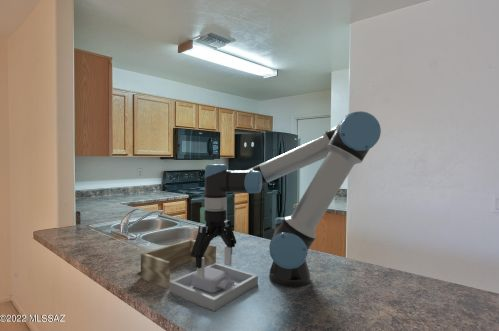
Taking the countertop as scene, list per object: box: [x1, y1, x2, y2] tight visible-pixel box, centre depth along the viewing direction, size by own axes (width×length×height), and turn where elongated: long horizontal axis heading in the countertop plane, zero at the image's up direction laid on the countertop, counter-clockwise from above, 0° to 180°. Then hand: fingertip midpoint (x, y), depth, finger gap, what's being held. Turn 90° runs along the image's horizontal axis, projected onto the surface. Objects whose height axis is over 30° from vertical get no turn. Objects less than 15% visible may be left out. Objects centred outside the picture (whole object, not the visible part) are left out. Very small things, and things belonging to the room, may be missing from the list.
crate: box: [140, 239, 217, 290], centre depth 113 cm, size 15×24×9 cm, turn 144°
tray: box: [168, 262, 259, 313], centre depth 99 cm, size 20×22×4 cm
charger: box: [192, 266, 236, 293], centre depth 99 cm, size 5×9×15 cm
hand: (215, 270), depth 99 cm, fingers open, 13 cm apart
